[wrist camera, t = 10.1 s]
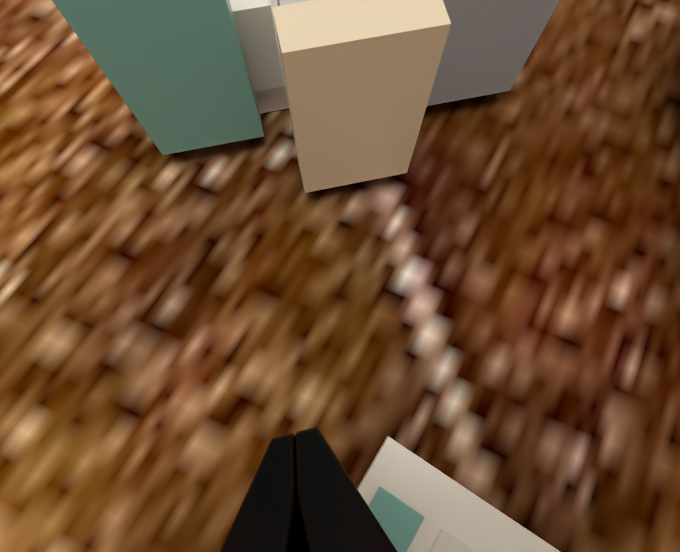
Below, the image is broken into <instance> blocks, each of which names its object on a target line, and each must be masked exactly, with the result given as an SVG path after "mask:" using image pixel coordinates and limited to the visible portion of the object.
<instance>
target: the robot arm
mask: <svg viewBox="0 0 680 552" xmlns="http://www.w3.org/2000/svg"><path fill="white" fill-rule="evenodd" d="M220 552H397V550H396V548H395V547H394V545H393V544H392V542H391V541H390V539H389V538H388V536H387V534H386V533H385V531H384V530H383V528H382V527H381V525H380V524H379V522H378V520H377V519H376V517H375V516H374V514H373V513H372V511H371V510H370V508H369V506H368V505H367V503H366V502H365V500H364V499H363V497H362V496H361V494H360V492H359V491H358V489H357V488H356V486H355V485H354V483H353V482H352V480H351V479H350V477H349V475H348V474H347V472H346V471H345V469H344V468H343V466H342V465H341V463H340V461H339V460H338V458H337V457H336V455H335V454H334V452H333V451H332V449H331V447H330V446H329V444H328V443H327V441H326V440H325V438H324V437H323V435H322V433H321V432H320V430H319V429H317V428H312V429H307V430H303V431H299V432H297V433H296V436H295V435H294V434H292V433H291V434H286V435H282V436H278V437H275V438H273V439H272V440H271V442H270V444H269V446H268V448H267V450H266V452H265V455H264V457H263V459H262V461H261V463H260V465H259V468H258V470H257V472H256V474H255V476H254V479H253V481H252V483H251V485H250V487H249V489H248V492H247V494H246V496H245V498H244V500H243V503H242V505H241V507H240V509H239V511H238V513H237V516H236V518H235V520H234V522H233V524H232V527H231V529H230V531H229V533H228V535H227V537H226V540H225V542H224V544H223V546H222V548H221V550H220Z"/></svg>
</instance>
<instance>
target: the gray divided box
mask: <svg viewBox="0 0 680 552" xmlns="http://www.w3.org/2000/svg"><path fill="white" fill-rule="evenodd" d="M230 4H231V8H232V11H233V15H234V19H235V22H236V26H237V30H238V33H239V37H240V41H241V44H242V48H243V52H244V55H245V59H246V63H247V66H248V70H249V74H250V77H251V81H252V85H253V88H254V92H255V96H256V99H257V103H258V107H259V111H260V114H261V113H266V112H272V111H277V110H283V109H288V108H289V105H288V100H287V94H286V88H285V82H284V76H283V70H282V64H281V58H280V53H279V47H278V41H277V35H276V29H275V23H274V17H273V11H272V7H275V6H278V4H277V0H230Z"/></svg>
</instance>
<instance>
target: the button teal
mask: <svg viewBox="0 0 680 552" xmlns="http://www.w3.org/2000/svg"><path fill="white" fill-rule="evenodd" d="M52 1H53V2H54V4H55V5H56V6H57V8H58V9H59V11H60V12H61V13H62V15H63V16H64V18H65V19H66V20H67V22H68V23H69V25H70V26H71V27H72V29H73V30H74V32H75V33H76V34H77V36H78V37H79V39H80V40H81V41H82V43H83V44H84V46H85V47H86V48H87V50H88V51H89V53H90V54H91V55H92V57H93V58H94V60H95V61H96V62H97V64H98V65H99V67H100V68H101V69H102V71H103V72H104V74H105V75H106V76H107V78H108V79H109V81H110V82H111V83H112V85H113V86H114V88H115V89H116V90H117V92H118V93H119V95H120V96H121V97H122V99H123V100H124V102H125V103H126V104H127V106H128V107H129V109H130V110H131V111H132V113H133V114H134V116H135V117H136V118H137V120H138V121H139V123H140V124H141V125H142V127H143V128H144V130H145V131H146V132H147V134H148V135H149V137H150V138H151V139H152V141H153V142H154V143H155V145H156V146H157V148H158V149H159V150H160V152H161V153H162V155H167V154H172V153H177V152H183V151H188V150H193V149H199V148H204V147H210V146H215V145H220V144H226V143H231V142H236V141H242V140H247V139H253V138H258V137H263V136H264V132H263V127H262V122H261V116H260V111H259V107H258V103H257V99H256V96H255V92H254V88H253V85H252V81H251V77H250V74H249V70H248V66H247V63H246V59H245V55H244V52H243V48H242V44H241V41H240V37H239V33H238V30H237V26H236V22H235V19H234V15H233V11H232V8H231V4H230V0H52Z"/></svg>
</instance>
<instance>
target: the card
mask: <svg viewBox="0 0 680 552" xmlns="http://www.w3.org/2000/svg"><path fill="white" fill-rule="evenodd" d="M357 489H358V491H359V492H360V494H361V496H362V497H363V499H364V500H365V502H366V503H367V505H368V506H369V508H370V510H371V511H372V513H373V514H374V516H375V517H376V519H377V520H378V522H379V524H380V525H381V527H382V528H383V530H384V531H385V533H386V534H387V536H388V538H389V539H390V541H391V542H392V544H393V545H394V547H395V548H396V550H397V552H560V551H559V550H557V549H556V548H554V547H553V546H551V545H550V544H548V543H547V542H545V541H544V540H542V539H541V538H539V537H538V536H536V535H535V534H533V533H532V532H530V531H529V530H527V529H526V528H524V527H523V526H521V525H520V524H518V523H517V522H515V521H514V520H512V519H511V518H509V517H508V516H506V515H505V514H504V513H502V512H501V511H499V510H498V509H496V508H495V507H493V506H492V505H490V504H489V503H487V502H486V501H484V500H483V499H481V498H480V497H478V496H477V495H475V494H474V493H472V492H471V491H469V490H468V489H466V488H465V487H463V486H462V485H460V484H459V483H457V482H456V481H454V480H453V479H451V478H450V477H448V476H447V475H445V474H444V473H442V472H441V471H439V470H438V469H436V468H435V467H433V466H432V465H430V464H429V463H427V462H426V461H424V460H423V459H421V458H420V457H418V456H417V455H415V454H414V453H412V452H411V451H409V450H408V449H406V448H405V447H403V446H402V445H401V444H399V443H398V442H396V441H395V440H393V439H392V438H390V437H389V436H387V437H386V439H385V441H384V442H383V444H382V446H381V448H380V449H379V451H378V453H377V454H376V456H375V458H374V460H373V461H372V463H371V465H370V467H369V468H368V470H367V472H366V474H365V475H364V477H363V479H362V481H361V482H360V484H359V486H358V488H357Z"/></svg>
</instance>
